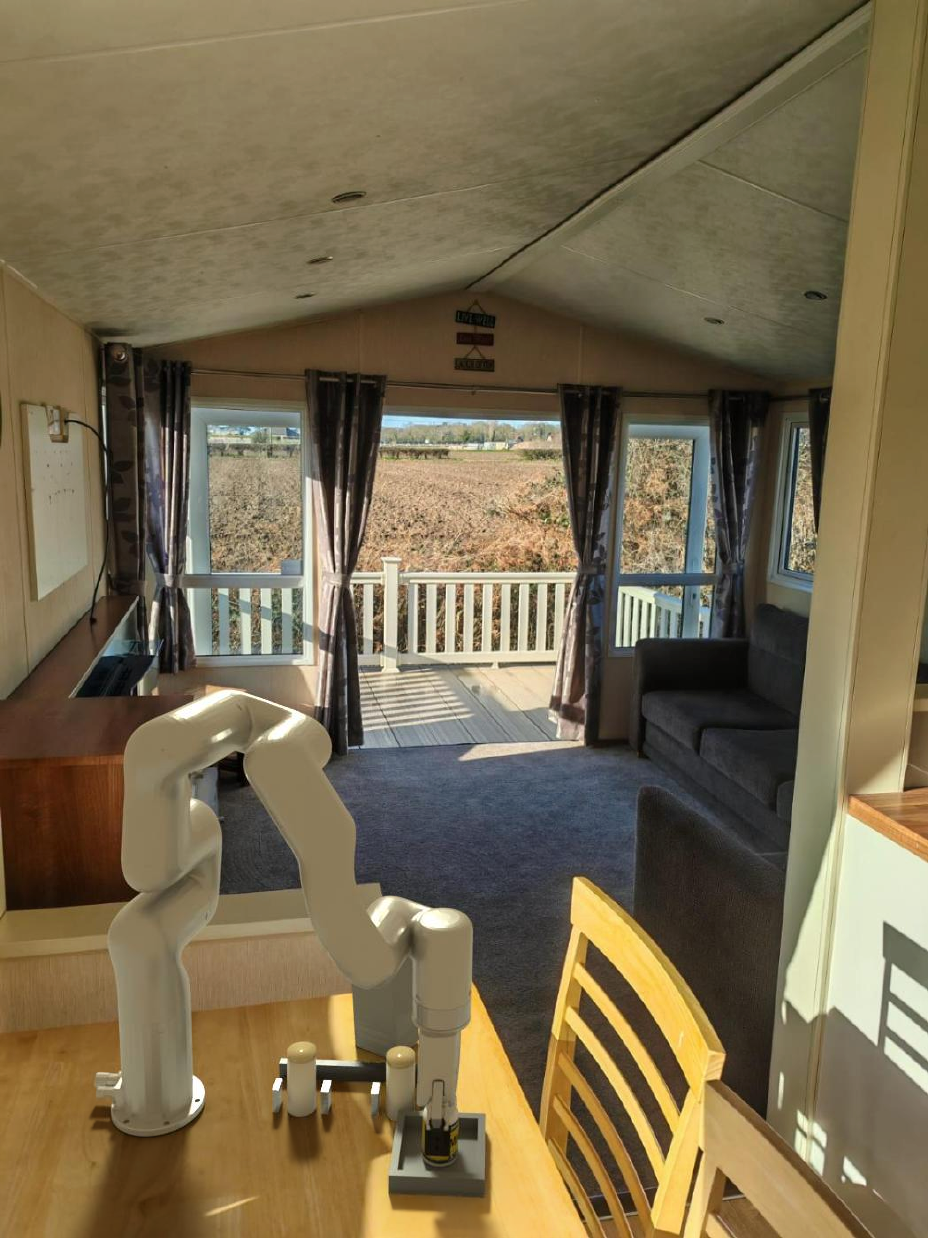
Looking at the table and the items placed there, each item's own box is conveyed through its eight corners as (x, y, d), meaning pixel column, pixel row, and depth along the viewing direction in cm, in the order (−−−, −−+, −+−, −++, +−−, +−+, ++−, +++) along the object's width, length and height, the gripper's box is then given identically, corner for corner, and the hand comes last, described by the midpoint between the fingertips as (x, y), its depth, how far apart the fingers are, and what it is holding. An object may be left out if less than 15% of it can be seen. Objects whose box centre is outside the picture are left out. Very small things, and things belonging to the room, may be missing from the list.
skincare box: (419, 1043, 148) (420, 950, 146) (392, 1067, 143) (393, 970, 140) (377, 1025, 153) (377, 934, 150) (348, 1047, 147) (348, 953, 144)
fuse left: (284, 1116, 131) (284, 1058, 130) (289, 1098, 135) (290, 1041, 134) (313, 1117, 131) (313, 1059, 130) (317, 1098, 135) (318, 1042, 134)
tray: (388, 1193, 118) (388, 1175, 118) (398, 1126, 130) (398, 1110, 129) (484, 1197, 118) (484, 1179, 117) (485, 1130, 130) (485, 1113, 129)
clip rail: (267, 1112, 132) (267, 1089, 132) (281, 1073, 140) (281, 1052, 140) (431, 1118, 132) (432, 1096, 131) (435, 1079, 140) (435, 1058, 139)
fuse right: (384, 1121, 131) (384, 1063, 129) (387, 1101, 135) (388, 1045, 133) (413, 1122, 131) (414, 1064, 129) (415, 1102, 135) (416, 1046, 133)
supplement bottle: (453, 1171, 121) (455, 1112, 120) (417, 1165, 122) (419, 1106, 121) (461, 1145, 126) (462, 1088, 124) (426, 1139, 127) (428, 1083, 125)
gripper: (417, 970, 129) (416, 1083, 132) (405, 1048, 112) (404, 1176, 115) (472, 972, 129) (470, 1085, 131) (469, 1050, 111) (466, 1178, 114)
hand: (439, 1127), depth 123 cm, fingers open, 9 cm apart
